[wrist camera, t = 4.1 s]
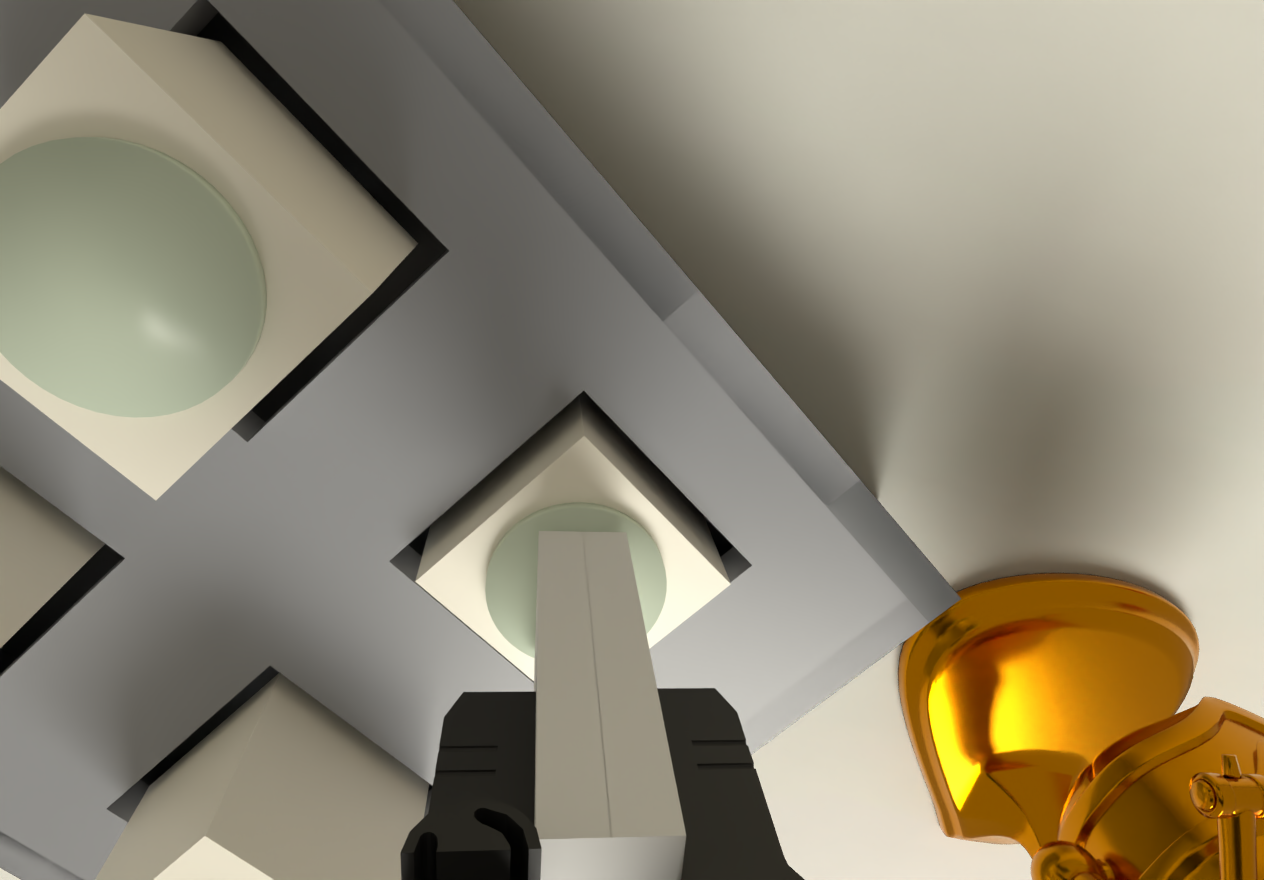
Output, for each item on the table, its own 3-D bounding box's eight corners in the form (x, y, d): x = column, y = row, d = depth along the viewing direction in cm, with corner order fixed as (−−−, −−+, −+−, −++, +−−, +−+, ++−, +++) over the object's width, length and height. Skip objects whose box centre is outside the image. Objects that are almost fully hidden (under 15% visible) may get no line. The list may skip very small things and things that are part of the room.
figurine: (1243, 527, 23) (1923, 932, 11) (1112, 836, 26) (1528, 1367, 15) (942, 504, 21) (1374, 931, 10) (850, 831, 25) (1094, 1401, 14)
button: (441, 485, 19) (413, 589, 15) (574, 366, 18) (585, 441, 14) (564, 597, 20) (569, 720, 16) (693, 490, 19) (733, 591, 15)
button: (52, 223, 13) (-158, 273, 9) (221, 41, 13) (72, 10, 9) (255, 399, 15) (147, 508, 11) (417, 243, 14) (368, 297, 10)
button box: (-354, 414, 18) (-633, 510, 13) (228, -264, 14) (100, -415, 10) (375, 896, 24) (340, 1059, 20) (878, 502, 21) (961, 598, 17)
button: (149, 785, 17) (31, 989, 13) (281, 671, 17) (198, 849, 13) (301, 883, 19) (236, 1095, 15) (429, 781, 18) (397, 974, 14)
